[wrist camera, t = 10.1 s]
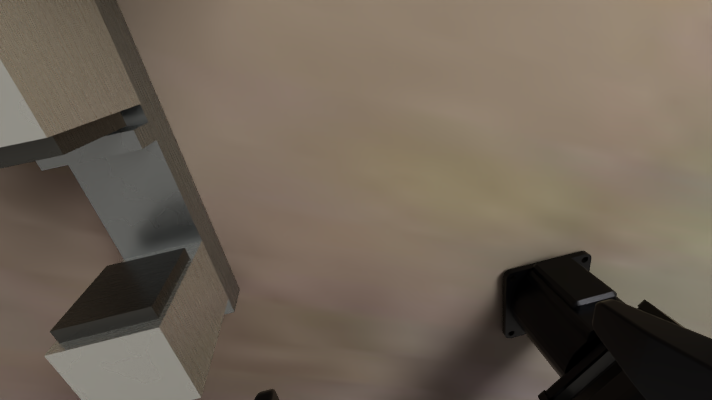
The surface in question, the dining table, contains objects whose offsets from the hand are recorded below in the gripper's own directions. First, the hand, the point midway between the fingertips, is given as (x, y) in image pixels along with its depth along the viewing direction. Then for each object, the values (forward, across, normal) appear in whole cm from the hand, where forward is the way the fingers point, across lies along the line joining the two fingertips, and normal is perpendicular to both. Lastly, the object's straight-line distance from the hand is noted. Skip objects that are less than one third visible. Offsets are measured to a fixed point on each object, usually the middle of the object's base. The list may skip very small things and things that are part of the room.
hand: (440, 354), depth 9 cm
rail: (+12, +11, -4) cm, 17 cm away
